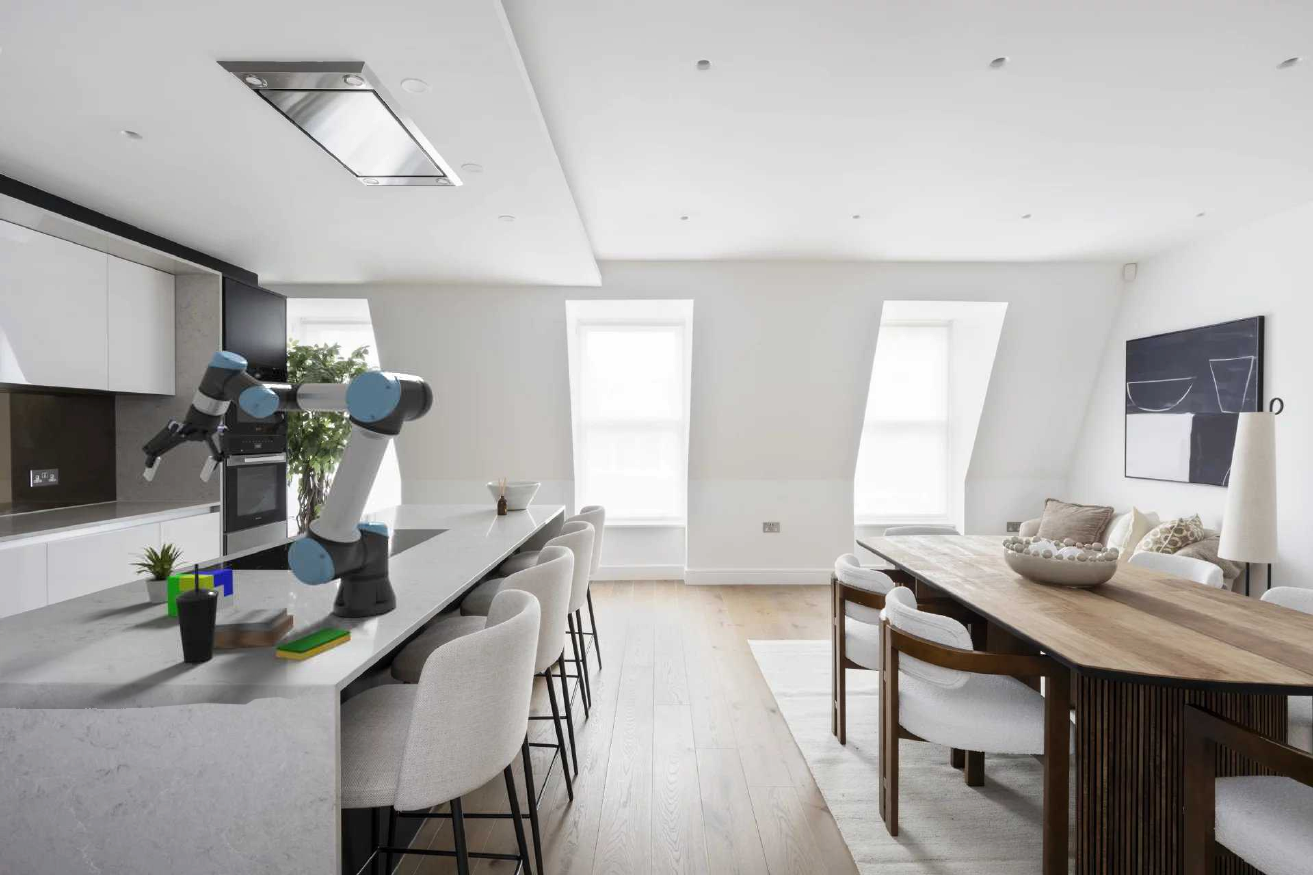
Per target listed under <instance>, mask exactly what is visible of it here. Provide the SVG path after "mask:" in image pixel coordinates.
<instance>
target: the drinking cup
mask: <svg viewBox="0 0 1313 875" xmlns="http://www.w3.org/2000/svg"><path fill="white" fill-rule="evenodd" d="M199 569H200V567H199V563H195V564H194V570H195V589H191V590H188V591H185V592H183V593H181V594H180V595H177V596H175V598H174V600H175V601H176V604H177V611H178V616H177V617H178V626H179V631H180V639H181V647H182V653H183V654H182V655H183V659H184V660H183V661H184V664H187V665H194V664H195V665H196V664H201V663H205V662H208V661H211V660H212V659H213V658H214V649H213V648H214V636H215V624H217V623H216V620H217V612H216V611H217V599H218V595H219V591H216V590H212V589H208V588H199Z"/></svg>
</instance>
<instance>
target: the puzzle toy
mask: <svg viewBox="0 0 1313 875" xmlns="http://www.w3.org/2000/svg"><path fill="white" fill-rule="evenodd" d="M233 570H234V569H232V568H227V569H226V568H199V588H208V589H212V590H216V591H219V595H218V599H217V611H219V610H221V611H223V609H224V610H226V609H229V608H231V607H230V606H232V607H234V574H233V572H234V571H233ZM191 589H195V569H192V570H188V571H185V572H181V573H177V574H174V575H170V577H167V592H168V602H167V616H168V615H173V616H172V617H178V611H177V604H176V601H175V600H174V598H175V596H177V595H180V594H181V593H183V592H185V591H188V590H191ZM228 607H229V608H228ZM225 608H226V609H225ZM217 611H216V613H217ZM219 612H220V611H219ZM175 615H177V616H175Z"/></svg>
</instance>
